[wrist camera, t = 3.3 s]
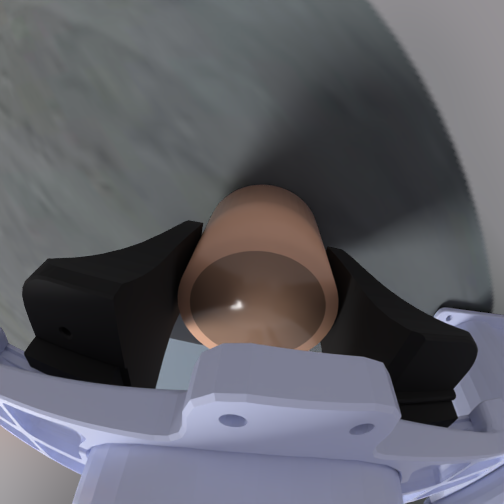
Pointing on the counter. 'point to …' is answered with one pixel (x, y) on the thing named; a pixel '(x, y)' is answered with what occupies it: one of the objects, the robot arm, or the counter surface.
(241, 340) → the terracotta cup
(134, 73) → the counter surface
